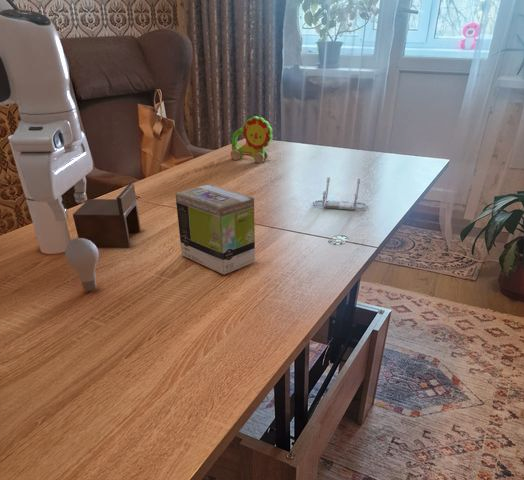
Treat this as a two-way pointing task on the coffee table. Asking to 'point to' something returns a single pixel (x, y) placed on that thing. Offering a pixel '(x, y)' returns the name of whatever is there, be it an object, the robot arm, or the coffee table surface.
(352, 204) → the wall mount rack
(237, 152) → the toy lion
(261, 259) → the coffee table surface
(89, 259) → the lightbulb
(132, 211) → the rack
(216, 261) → the tea box
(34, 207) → the cylindrical container
